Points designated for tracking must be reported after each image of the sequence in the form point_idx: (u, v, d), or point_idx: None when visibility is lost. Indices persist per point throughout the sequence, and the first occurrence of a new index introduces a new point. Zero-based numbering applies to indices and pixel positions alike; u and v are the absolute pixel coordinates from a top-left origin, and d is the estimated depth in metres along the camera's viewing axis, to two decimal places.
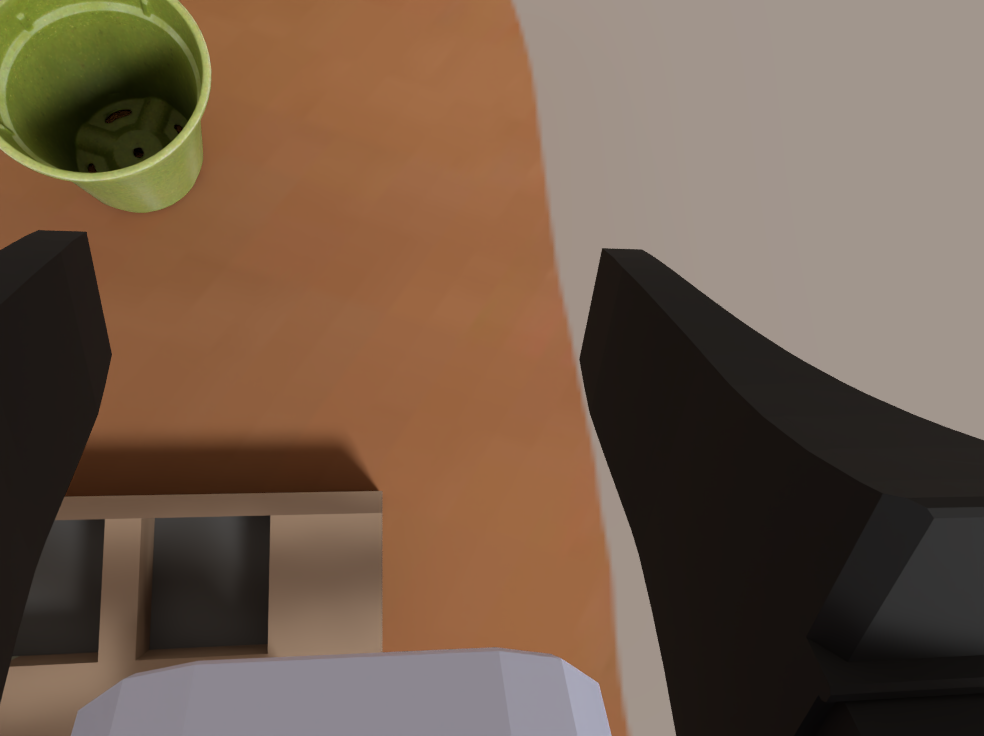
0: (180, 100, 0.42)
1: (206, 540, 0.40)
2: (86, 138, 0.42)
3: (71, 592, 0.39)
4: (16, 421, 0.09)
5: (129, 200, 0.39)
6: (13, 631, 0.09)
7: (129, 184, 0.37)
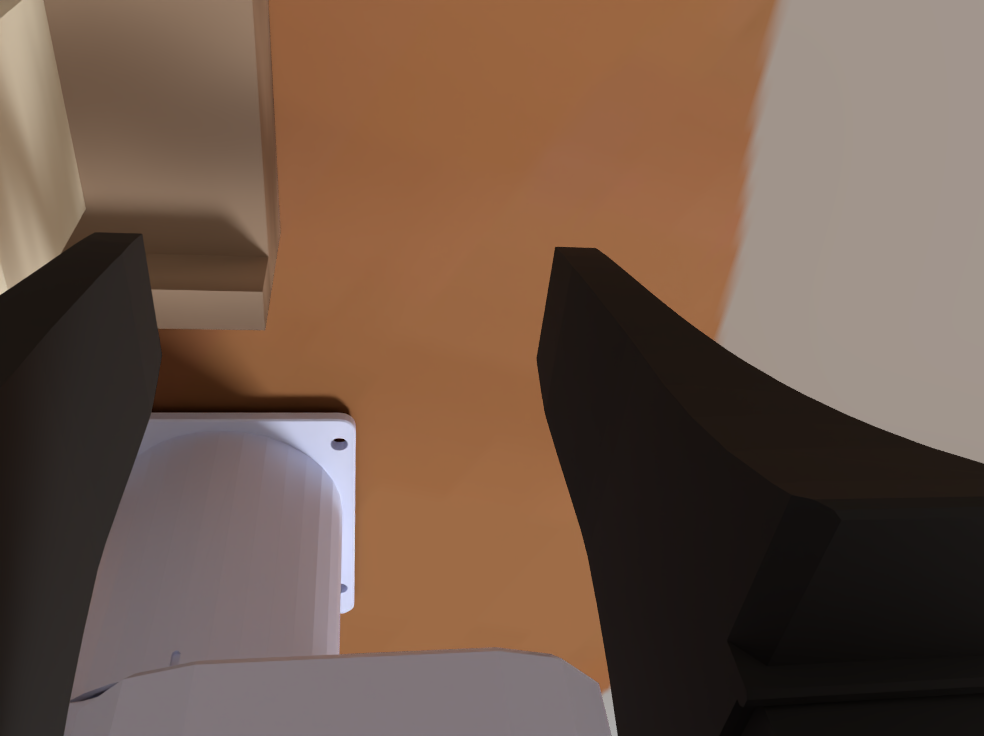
0: None
1: None
2: None
3: None
4: (84, 421, 0.09)
5: None
6: (81, 629, 0.09)
7: None
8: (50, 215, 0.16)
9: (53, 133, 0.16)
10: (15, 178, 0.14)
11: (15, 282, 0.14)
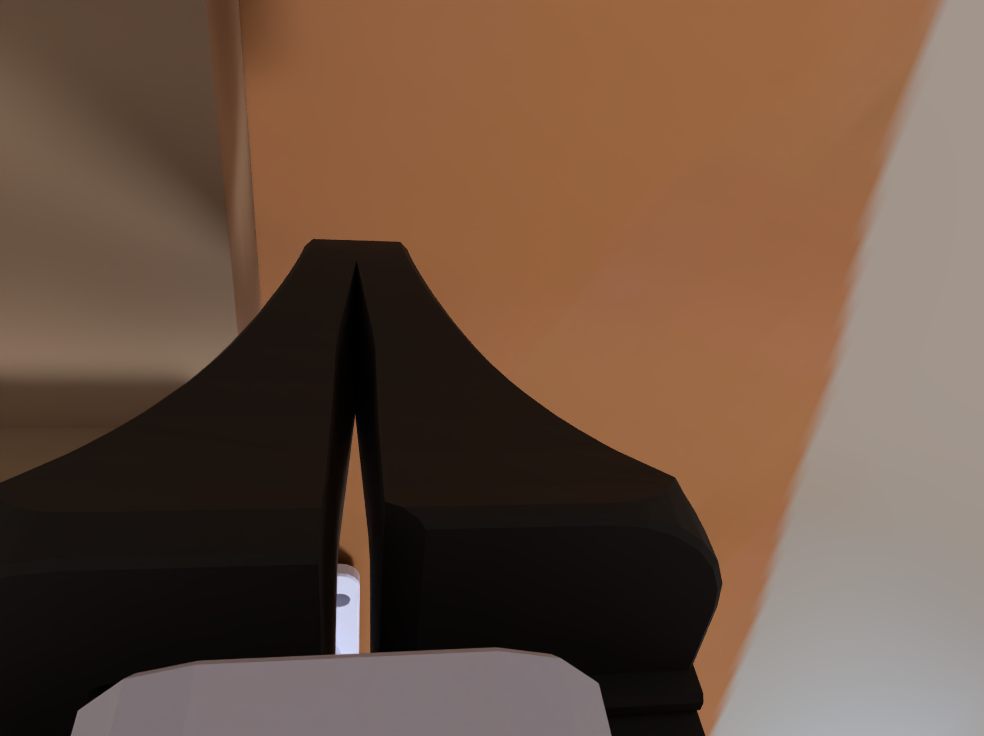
0: None
1: None
2: None
3: None
4: (340, 420, 0.10)
5: None
6: None
7: None
8: None
9: None
10: None
11: None
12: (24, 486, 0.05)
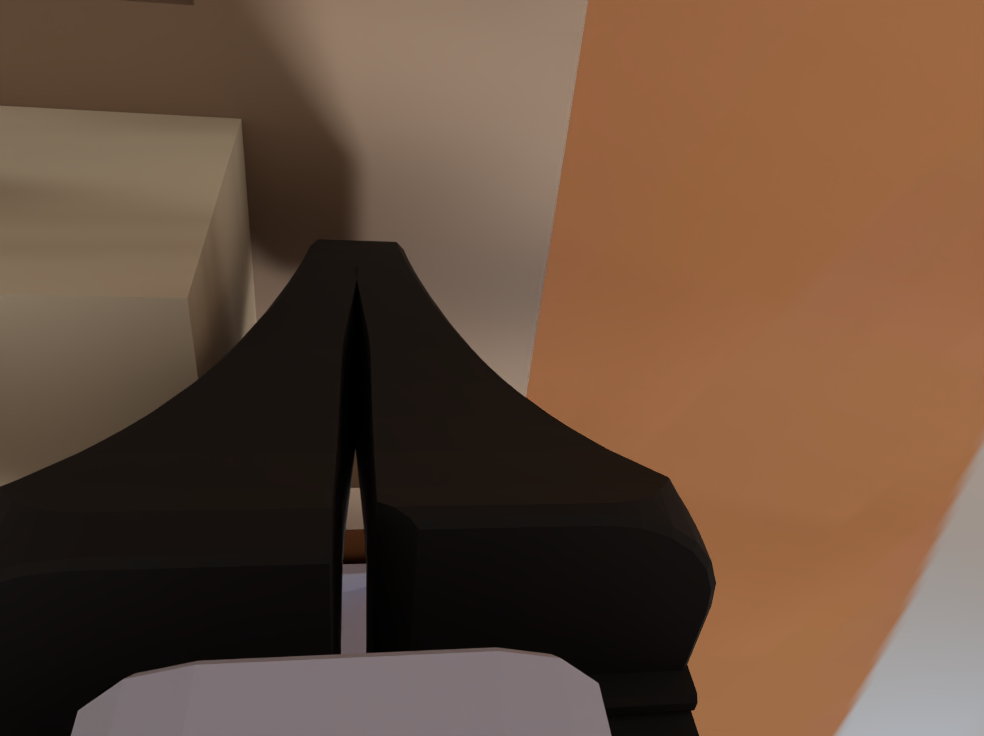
0: None
1: None
2: None
3: None
4: (345, 421, 0.10)
5: None
6: (341, 618, 0.10)
7: None
8: None
9: (246, 307, 0.12)
10: None
11: None
12: (34, 486, 0.05)
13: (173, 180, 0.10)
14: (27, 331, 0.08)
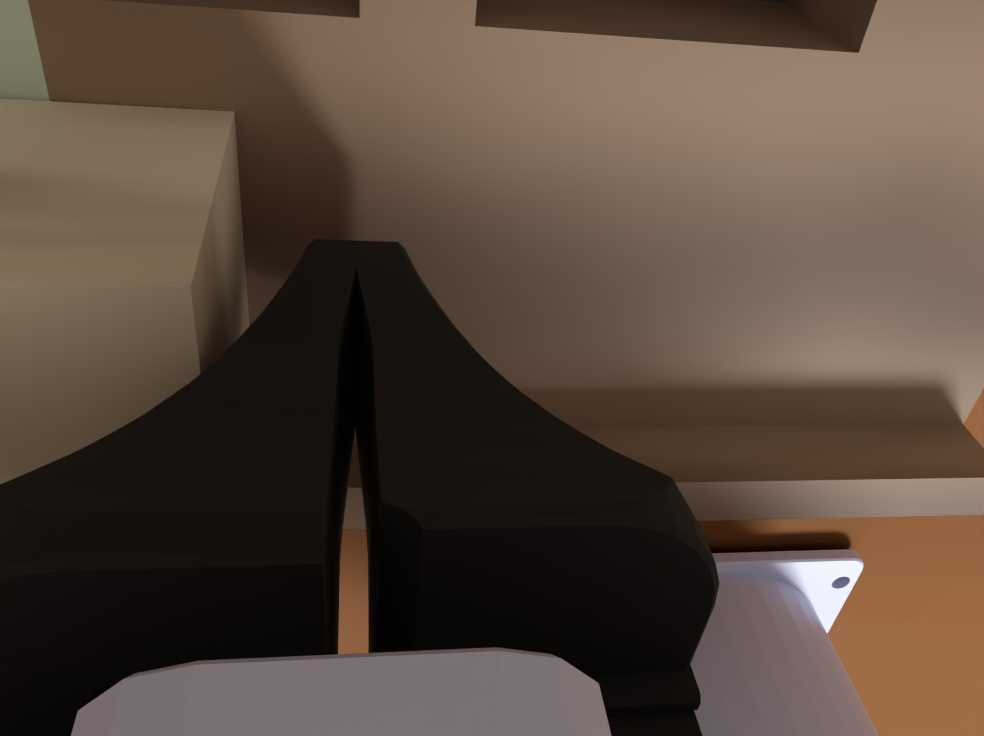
0: None
1: None
2: None
3: None
4: (342, 420, 0.10)
5: None
6: (338, 619, 0.10)
7: None
8: None
9: (240, 301, 0.12)
10: None
11: None
12: (27, 487, 0.05)
13: (169, 171, 0.10)
14: (30, 321, 0.08)
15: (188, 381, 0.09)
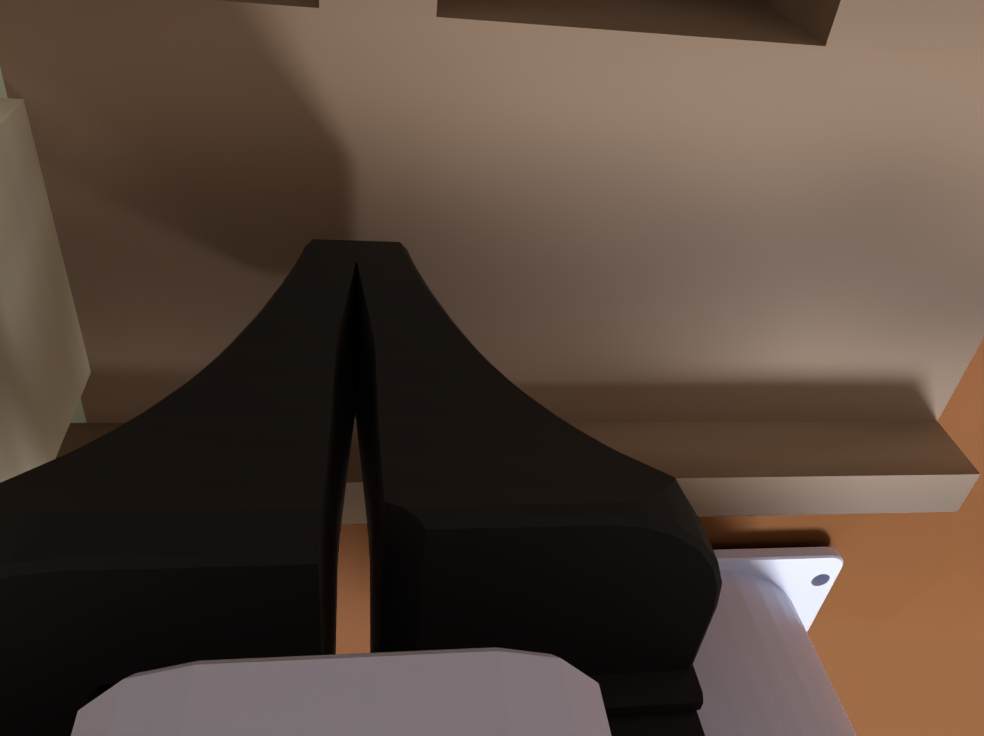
0: None
1: None
2: None
3: None
4: (340, 420, 0.10)
5: None
6: None
7: None
8: (42, 410, 0.12)
9: (45, 295, 0.12)
10: None
11: None
12: (24, 487, 0.05)
13: None
14: None
15: None
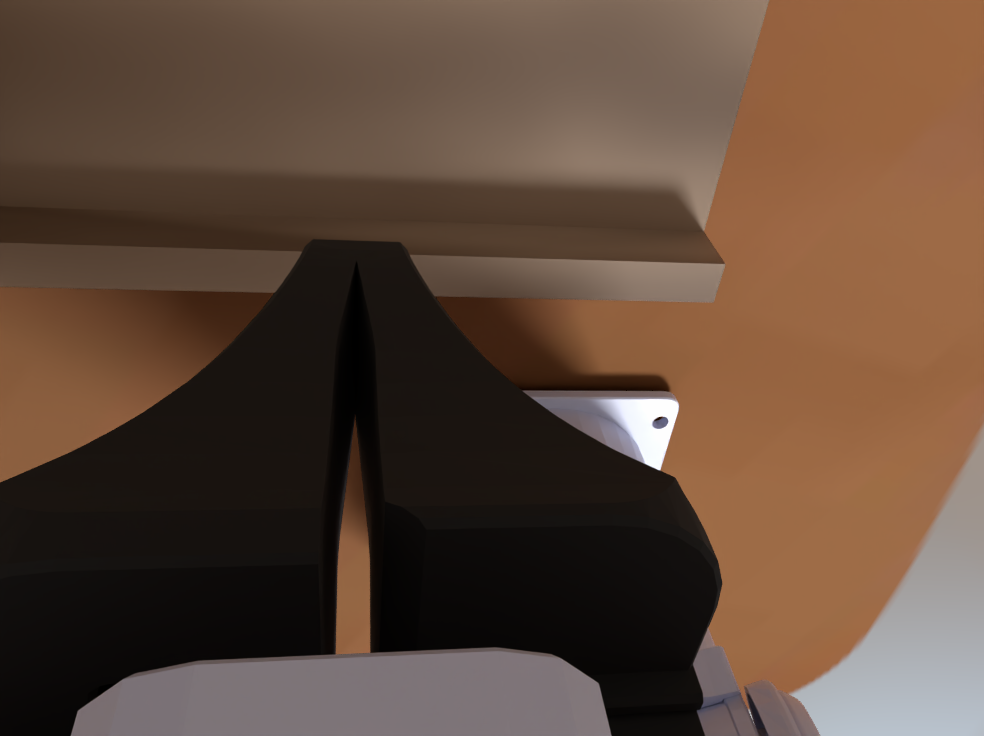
0: None
1: None
2: None
3: None
4: (340, 421, 0.10)
5: None
6: None
7: None
8: None
9: None
10: None
11: None
12: (24, 487, 0.05)
13: None
14: None
15: None
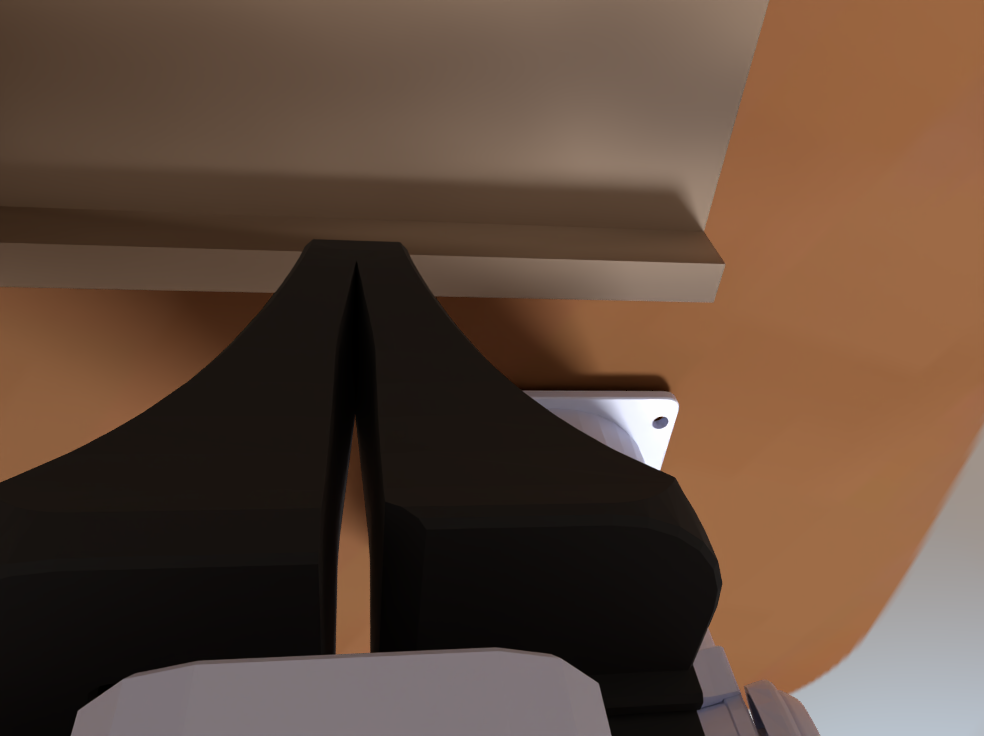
0: None
1: None
2: None
3: None
4: (340, 421, 0.10)
5: None
6: None
7: None
8: None
9: None
10: None
11: None
12: (24, 487, 0.05)
13: None
14: None
15: None
